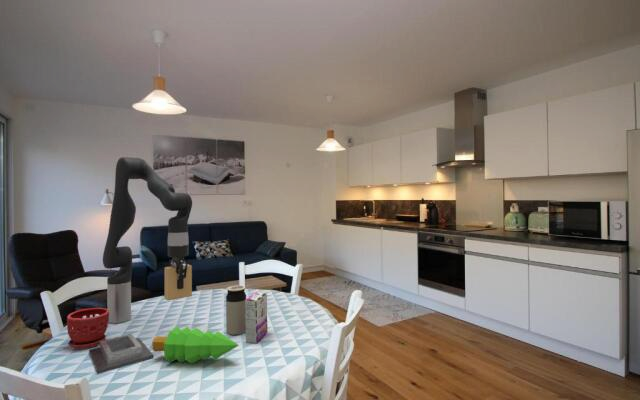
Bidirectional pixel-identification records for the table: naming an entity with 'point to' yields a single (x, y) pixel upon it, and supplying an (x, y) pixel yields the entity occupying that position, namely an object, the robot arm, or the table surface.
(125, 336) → the duct flange
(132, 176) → the robot arm
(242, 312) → the travel mug
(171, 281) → the tan rectangular block
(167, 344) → the decorative tree
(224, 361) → the table surface
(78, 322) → the plant pot
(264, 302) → the candy bar box
